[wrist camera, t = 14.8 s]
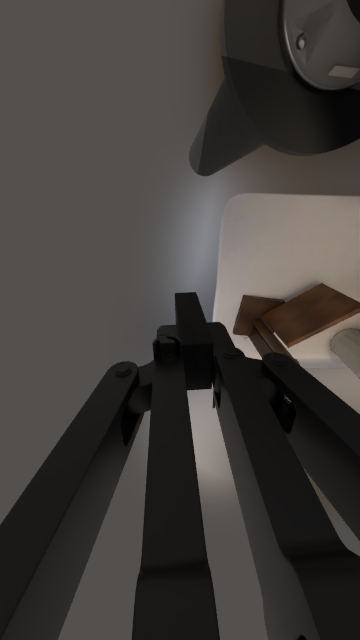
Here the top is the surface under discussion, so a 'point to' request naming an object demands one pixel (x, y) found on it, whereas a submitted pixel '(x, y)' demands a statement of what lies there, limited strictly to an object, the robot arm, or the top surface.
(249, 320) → the brown wooden stand
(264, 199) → the top surface
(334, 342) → the cup
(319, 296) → the door
